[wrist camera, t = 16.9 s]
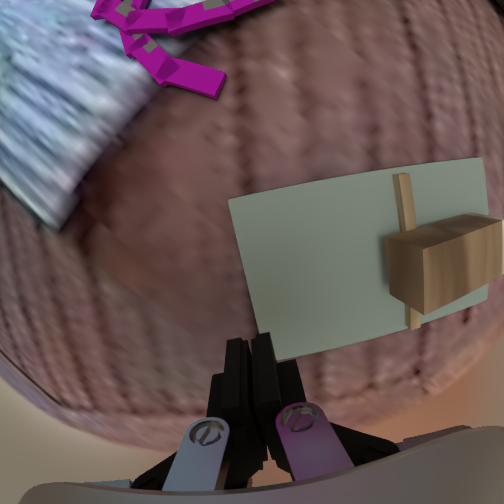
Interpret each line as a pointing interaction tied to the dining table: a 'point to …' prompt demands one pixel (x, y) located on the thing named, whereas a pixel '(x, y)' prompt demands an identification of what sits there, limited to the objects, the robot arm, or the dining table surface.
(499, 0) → the vase
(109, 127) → the dining table surface
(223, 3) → the toy
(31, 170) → the dining table surface
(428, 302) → the walnut block
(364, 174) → the mat
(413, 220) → the strip
